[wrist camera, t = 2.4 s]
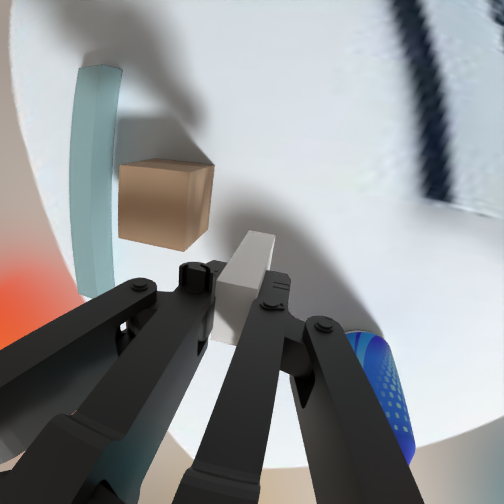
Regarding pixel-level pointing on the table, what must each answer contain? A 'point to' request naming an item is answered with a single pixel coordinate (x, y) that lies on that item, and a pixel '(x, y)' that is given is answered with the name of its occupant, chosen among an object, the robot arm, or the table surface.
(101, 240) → the board
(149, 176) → the block
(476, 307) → the table surface
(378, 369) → the beer can
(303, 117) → the table surface
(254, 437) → the robot arm
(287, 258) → the table surface
